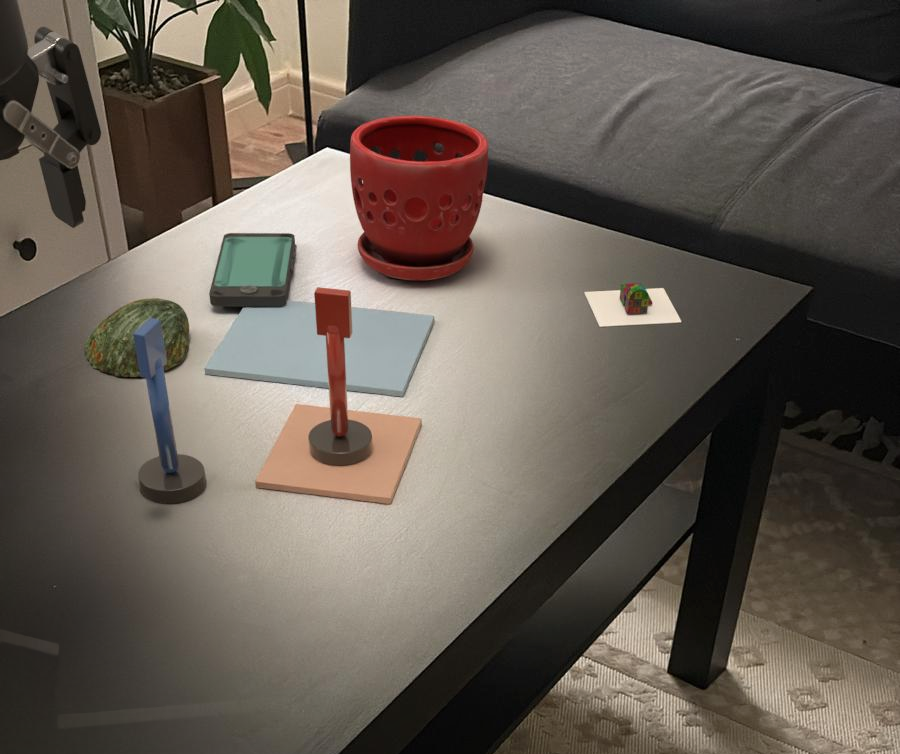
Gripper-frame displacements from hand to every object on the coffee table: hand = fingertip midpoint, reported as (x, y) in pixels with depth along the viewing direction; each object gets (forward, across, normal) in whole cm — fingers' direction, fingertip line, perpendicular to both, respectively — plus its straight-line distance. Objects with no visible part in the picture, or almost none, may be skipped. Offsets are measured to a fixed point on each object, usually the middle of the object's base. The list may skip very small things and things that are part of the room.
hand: (14, 252), depth 77 cm
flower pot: (+33, -50, -11) cm, 61 cm away
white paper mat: (+31, -57, +10) cm, 65 cm away
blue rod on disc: (+25, -8, 0) cm, 26 cm away
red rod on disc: (+25, -20, +7) cm, 33 cm away
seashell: (+30, -20, -18) cm, 40 cm away
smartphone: (+32, -36, -21) cm, 53 cm away
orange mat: (+26, -20, +7) cm, 33 cm away
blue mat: (+29, -31, -6) cm, 43 cm away
